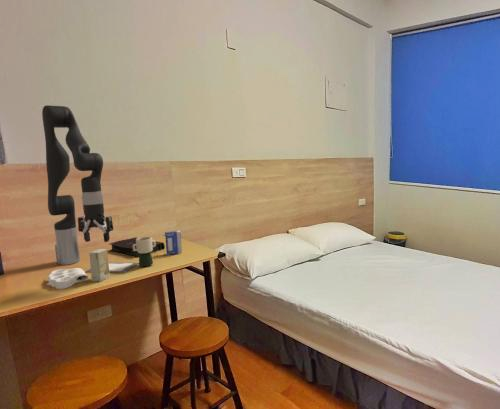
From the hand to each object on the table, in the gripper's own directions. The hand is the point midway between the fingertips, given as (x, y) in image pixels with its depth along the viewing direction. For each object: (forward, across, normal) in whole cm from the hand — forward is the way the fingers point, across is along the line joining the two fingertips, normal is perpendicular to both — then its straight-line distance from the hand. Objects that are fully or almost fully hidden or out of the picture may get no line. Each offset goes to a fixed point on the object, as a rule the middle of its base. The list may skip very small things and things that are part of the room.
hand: (97, 241), depth 134 cm
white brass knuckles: (+17, -14, -3) cm, 22 cm away
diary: (+17, -7, +42) cm, 46 cm away
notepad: (+16, -3, +14) cm, 21 cm away
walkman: (+16, +17, +37) cm, 44 cm away
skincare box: (+16, 0, 0) cm, 16 cm away
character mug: (+16, +11, +18) cm, 27 cm away
